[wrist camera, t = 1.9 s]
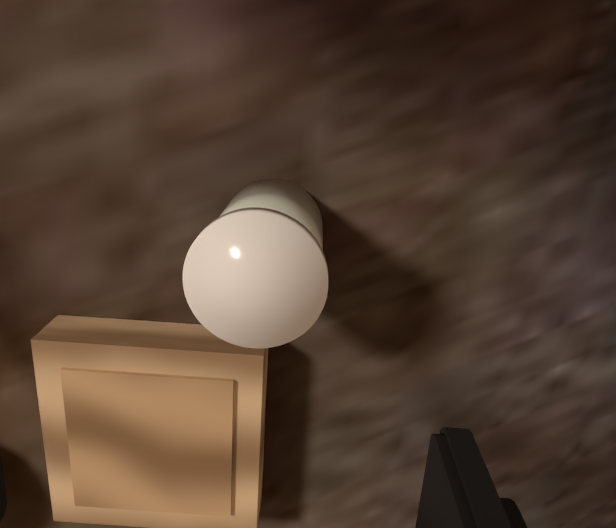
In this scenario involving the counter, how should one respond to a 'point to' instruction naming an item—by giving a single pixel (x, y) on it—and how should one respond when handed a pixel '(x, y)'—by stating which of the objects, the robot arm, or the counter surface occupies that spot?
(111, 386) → the base
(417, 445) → the counter surface
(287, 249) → the canister
